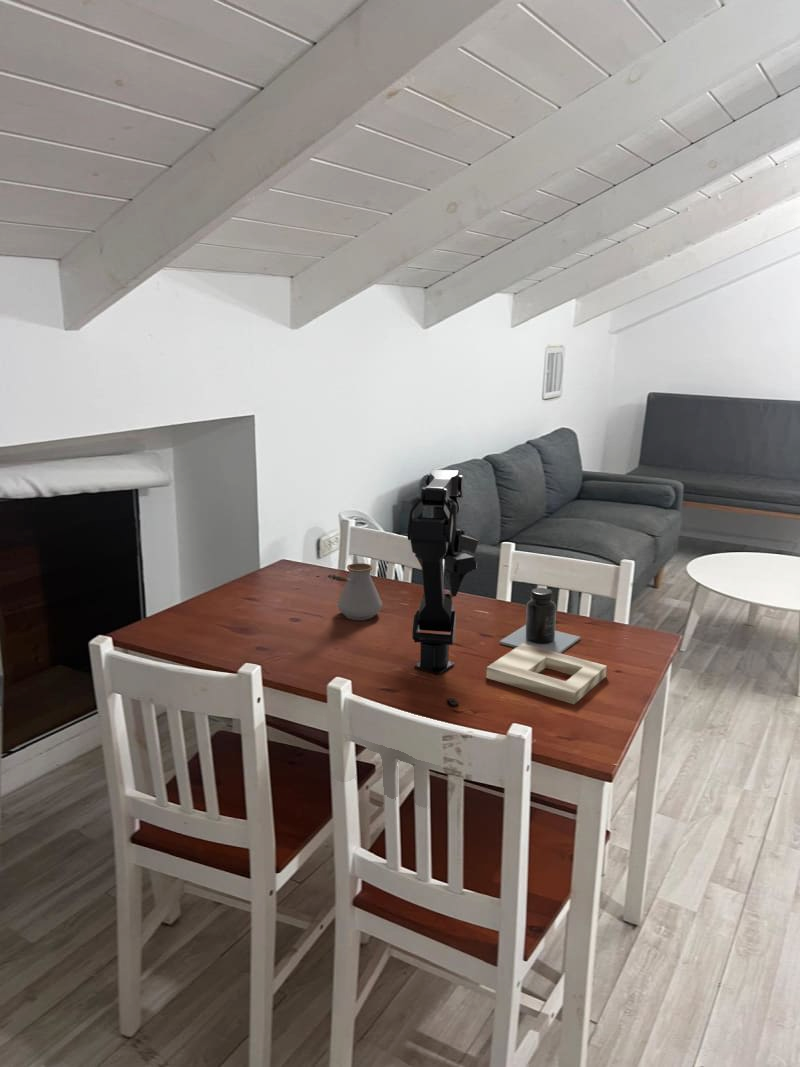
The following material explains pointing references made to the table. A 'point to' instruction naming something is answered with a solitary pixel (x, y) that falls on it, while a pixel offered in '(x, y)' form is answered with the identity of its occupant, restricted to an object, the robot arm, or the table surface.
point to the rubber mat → (557, 645)
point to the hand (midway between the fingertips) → (442, 590)
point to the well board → (530, 660)
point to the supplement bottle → (540, 617)
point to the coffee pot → (358, 593)
